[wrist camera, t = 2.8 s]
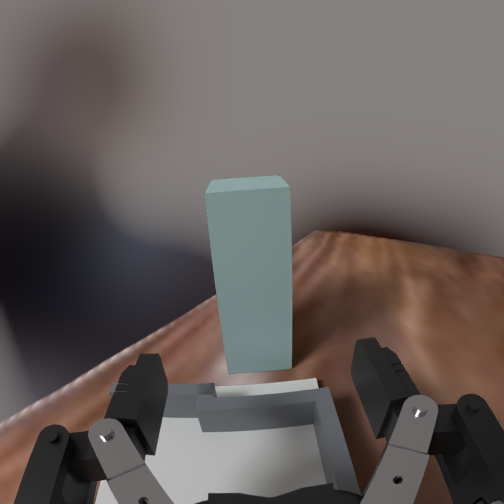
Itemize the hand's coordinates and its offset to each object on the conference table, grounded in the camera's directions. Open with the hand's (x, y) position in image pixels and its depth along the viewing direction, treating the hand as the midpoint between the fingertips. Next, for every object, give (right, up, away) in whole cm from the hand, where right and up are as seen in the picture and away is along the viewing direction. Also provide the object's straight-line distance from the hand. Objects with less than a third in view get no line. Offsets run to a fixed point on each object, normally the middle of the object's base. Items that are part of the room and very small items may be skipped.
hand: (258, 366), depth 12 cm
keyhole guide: (-2, -8, +3) cm, 9 cm away
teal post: (0, -4, +14) cm, 14 cm away
